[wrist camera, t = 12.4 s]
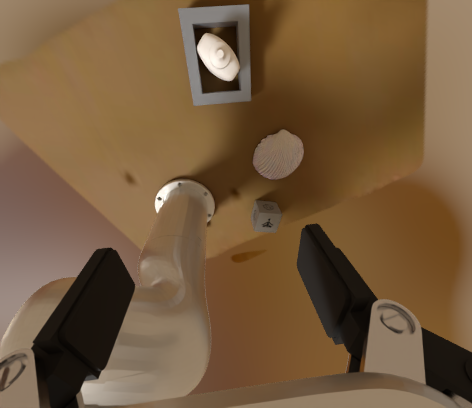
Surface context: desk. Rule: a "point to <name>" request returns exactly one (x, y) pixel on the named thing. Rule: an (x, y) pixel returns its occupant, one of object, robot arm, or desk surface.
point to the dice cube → (265, 216)
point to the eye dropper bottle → (218, 57)
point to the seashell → (278, 155)
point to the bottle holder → (240, 19)
